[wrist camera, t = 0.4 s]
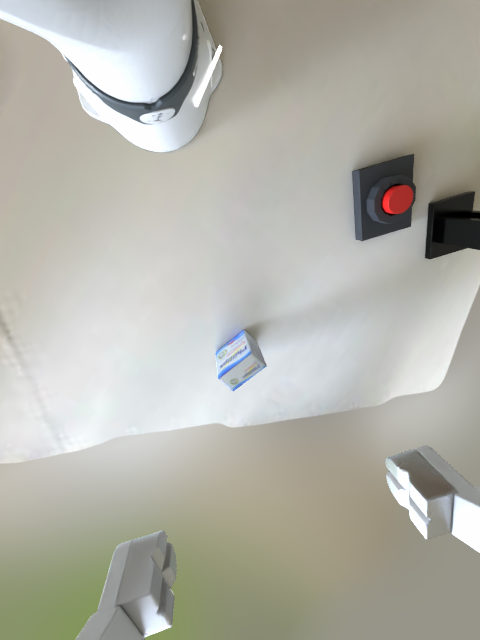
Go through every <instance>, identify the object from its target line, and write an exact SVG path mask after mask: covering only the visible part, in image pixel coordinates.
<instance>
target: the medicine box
mask: <svg viewBox="0 0 480 640" xmlns="http://www.w3.org/2000/svg"><path fill="white" fill-rule="evenodd" d="M216 364H217V374H218V379H219V380H221V381H222V382H223V383H224V384H225V385H226V386H227V387H229V388H230V389H231V390H232V391H234V390H236V389H237V388H238V387H240V386H241V385H242V384H244V383H245V382H246V381H248V380H249V379H250V378H252V377H253V376H254V375H255V374H257V373H258V372H259V371H261V370H262V369H263V368H265V367H266V366H267V365H266V363H265V361H264V358H263V356H262V353H261V351H260V348H259V346H258V343H257V342H256V341H255V340H254V339H253V338H252V337H251V336H250V335H249V334H248V333H247V332H246V331H245V330H243V331H242V332H240V333H239V334H238V335H237V336H235V337H234V338H233V339H232V340H231V341H229V342H228V343H227V344H226V345H224V346H223V347H222V348H221V349H219V350H218V351H217V352H216Z"/></svg>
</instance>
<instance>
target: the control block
mask: <svg viewBox="0 0 480 640" xmlns="http://www.w3.org/2000/svg"><path fill="white" fill-rule="evenodd" d="M413 163H414V154H412V155H407V156H403V157H400V158H397V159H393V160H390V161H386V162H383V163H380V164H376V165H373V166H369V167H366V168H363V169H359V170H356V171H353V172H352V176H353V195H354V214H355V232H356V240H360V241H364V240H367V239H370V238H374V237H377V236H380V235H384V234H387V233H390V232H394V231H397V230H400V229H404V228H407V227H410V226H411V212H412V206H413V204H414V201H415V193H416V188H415V185H414V183H413ZM398 185H407V186H409V187H410V188H411V189H412V191H413V200H412V203H411V205H410V207H409V208H408V209H407V210H406V211H404V212H403V213H400V214H390V213H386V212H385V211H384V210H383V208H382V204H381V202H382V197H383V195H384V193H385V192H386V191H387V190H388V189H389V188H390V187H393V186H398Z"/></svg>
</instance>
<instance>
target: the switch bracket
mask: <svg viewBox="0 0 480 640" xmlns="http://www.w3.org/2000/svg"><path fill="white" fill-rule="evenodd" d="M474 196H475V191H472V192H466V193H462V194H459V195H456V196H452V197H449V198H446V199H442V200H439V201H436V202H432V203H429V210H428V224H427V239H426V253H425V258H427V259H432V258H436V257H439V256H442V255H446V254H449V253H452V252H456V251H459V250H462V249H466V248H472V249H477V250H480V211H472V210H473V203H474Z"/></svg>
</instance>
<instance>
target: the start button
mask: <svg viewBox="0 0 480 640" xmlns="http://www.w3.org/2000/svg"><path fill="white" fill-rule="evenodd" d="M412 200H413V191H412V189H411V188H410V187H409V186H407V185H398V186H393V187H390V188H389V189H388V190H387V191H386V192H385V193H384V195H383V197H382V202H381V204H382V208H383V210H384V211H385V212H386V213H390V214H400V213H403V212H404V211H406V210H407V209H408V208H409V207H410V205H411V203H412Z"/></svg>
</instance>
